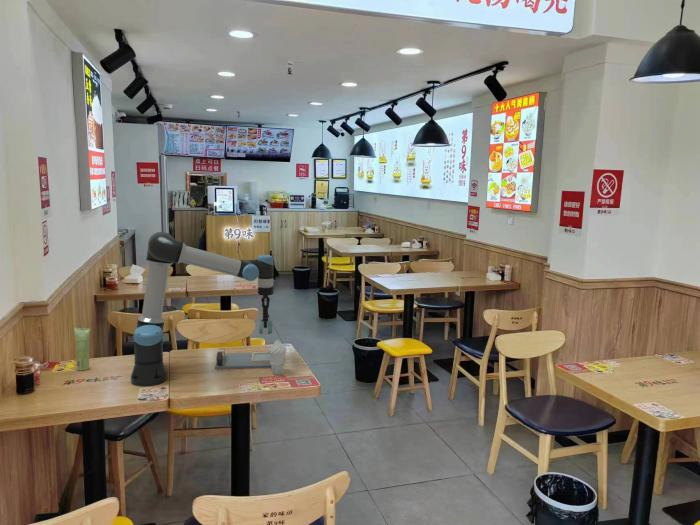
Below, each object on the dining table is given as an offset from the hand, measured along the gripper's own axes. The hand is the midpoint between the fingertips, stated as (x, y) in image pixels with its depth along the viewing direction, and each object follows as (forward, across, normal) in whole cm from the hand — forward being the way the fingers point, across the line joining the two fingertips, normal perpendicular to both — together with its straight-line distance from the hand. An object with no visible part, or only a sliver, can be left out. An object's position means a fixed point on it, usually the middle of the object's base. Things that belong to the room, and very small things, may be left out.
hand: (265, 331), depth 258 cm
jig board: (+14, -2, +8) cm, 17 cm away
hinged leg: (+13, -4, +21) cm, 25 cm away
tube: (+15, -8, +83) cm, 85 cm away
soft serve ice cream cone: (+15, -20, -6) cm, 25 cm away
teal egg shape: (0, 0, 0) cm, 0 cm away
